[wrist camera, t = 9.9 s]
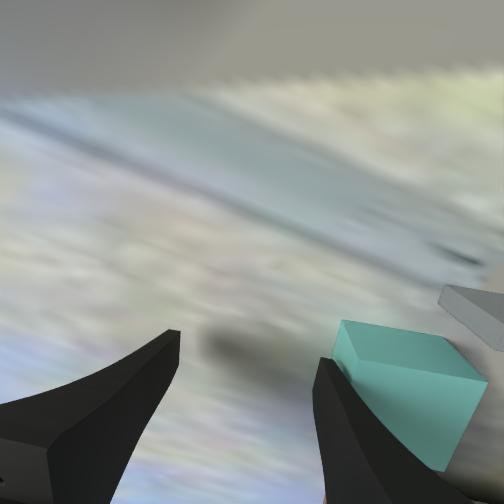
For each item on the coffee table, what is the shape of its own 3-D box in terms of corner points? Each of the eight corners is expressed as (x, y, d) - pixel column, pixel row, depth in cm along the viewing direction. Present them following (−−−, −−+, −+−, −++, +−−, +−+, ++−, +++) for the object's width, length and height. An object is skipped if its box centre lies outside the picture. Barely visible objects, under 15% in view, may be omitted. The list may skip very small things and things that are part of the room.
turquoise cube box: (411, 413, 14) (444, 471, 12) (321, 396, 15) (331, 448, 12) (442, 336, 13) (488, 382, 10) (341, 319, 13) (358, 359, 10)
